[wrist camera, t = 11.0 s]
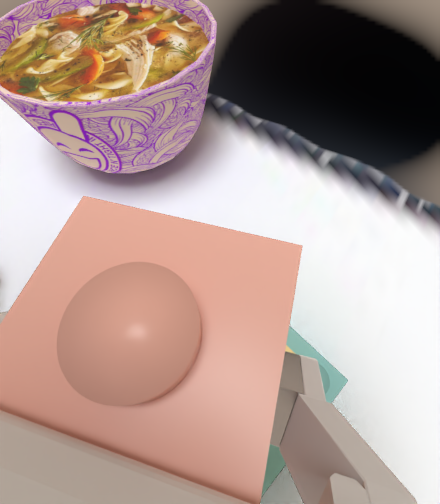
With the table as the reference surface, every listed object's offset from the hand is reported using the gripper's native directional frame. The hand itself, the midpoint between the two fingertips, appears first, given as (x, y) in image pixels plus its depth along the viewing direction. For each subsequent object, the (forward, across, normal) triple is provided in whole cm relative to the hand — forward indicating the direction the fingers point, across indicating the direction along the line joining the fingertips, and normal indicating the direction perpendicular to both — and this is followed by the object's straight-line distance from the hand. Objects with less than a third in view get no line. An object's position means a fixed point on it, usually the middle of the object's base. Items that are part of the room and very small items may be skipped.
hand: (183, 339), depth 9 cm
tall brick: (+3, 0, +4) cm, 5 cm away
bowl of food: (+26, +16, -6) cm, 31 cm away
